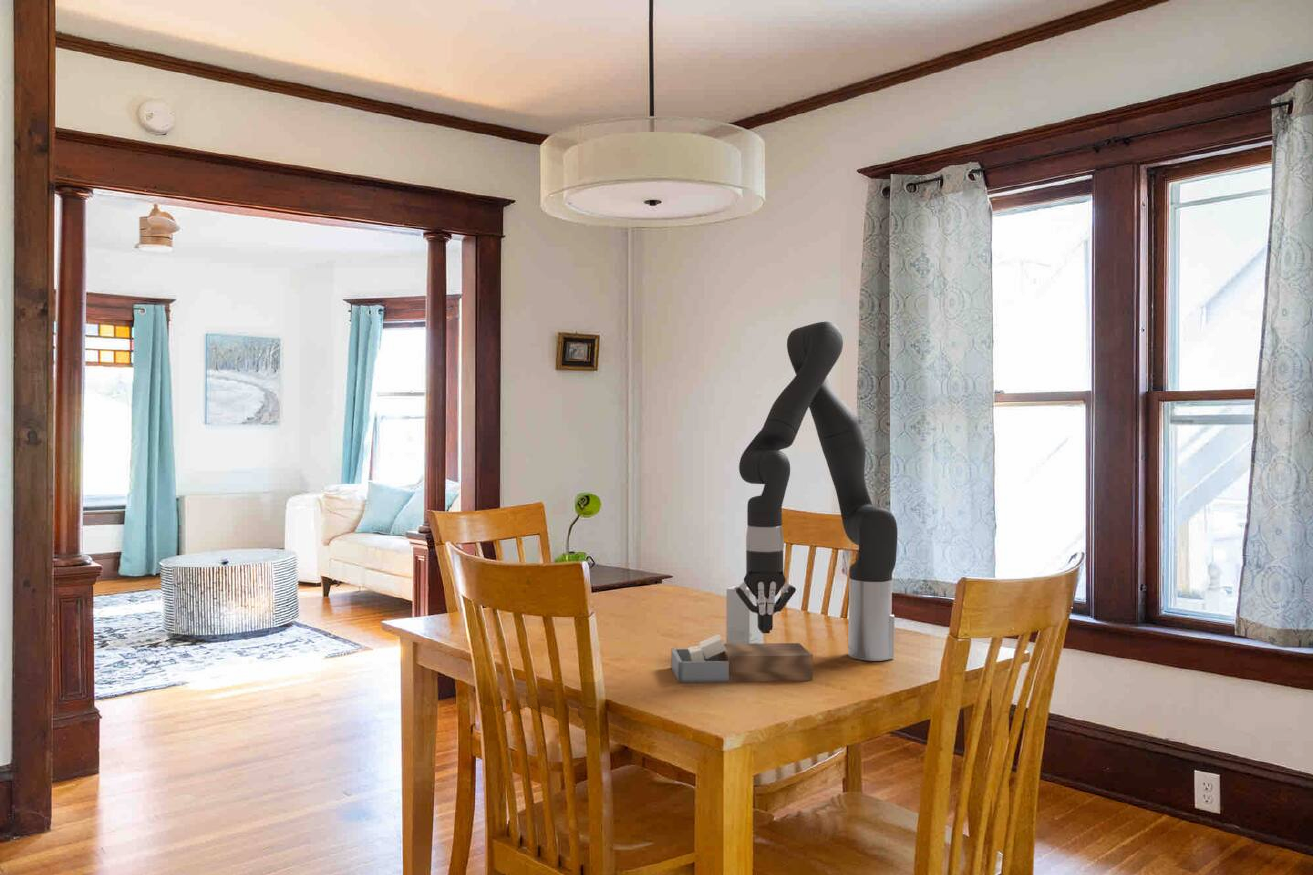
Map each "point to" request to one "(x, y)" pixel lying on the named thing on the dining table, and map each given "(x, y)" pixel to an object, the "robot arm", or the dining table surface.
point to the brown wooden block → (768, 662)
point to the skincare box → (741, 620)
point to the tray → (698, 668)
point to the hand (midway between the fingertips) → (765, 632)
